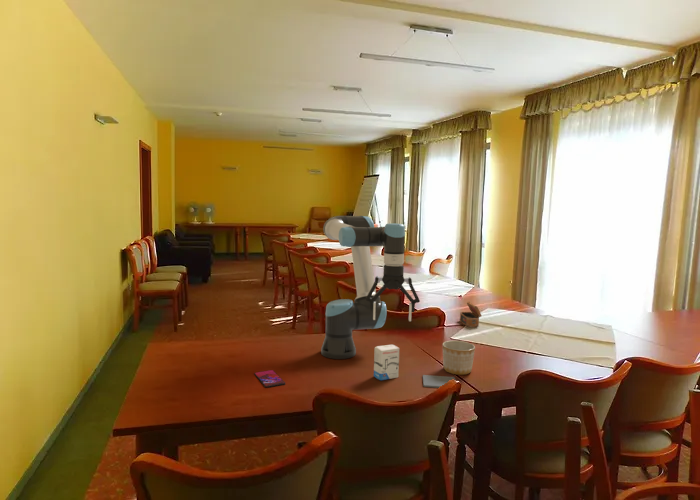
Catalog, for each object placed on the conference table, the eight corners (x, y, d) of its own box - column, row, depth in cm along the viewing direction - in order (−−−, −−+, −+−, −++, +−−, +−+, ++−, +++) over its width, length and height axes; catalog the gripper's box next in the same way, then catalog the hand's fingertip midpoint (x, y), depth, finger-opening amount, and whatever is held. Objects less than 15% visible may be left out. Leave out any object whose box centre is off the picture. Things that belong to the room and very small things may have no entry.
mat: (423, 386, 169) (423, 385, 169) (422, 376, 179) (422, 374, 179) (457, 389, 167) (457, 387, 167) (454, 378, 177) (454, 377, 177)
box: (437, 318, 269) (437, 298, 268) (483, 317, 273) (484, 298, 271) (452, 331, 242) (453, 309, 241) (504, 331, 245) (505, 309, 244)
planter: (439, 364, 192) (440, 339, 191) (469, 365, 192) (470, 340, 191) (444, 376, 180) (445, 349, 179) (477, 377, 179) (478, 350, 178)
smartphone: (273, 369, 181) (286, 383, 168) (273, 371, 181) (286, 385, 168) (253, 372, 178) (265, 386, 165) (253, 375, 178) (265, 389, 165)
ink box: (379, 381, 173) (380, 350, 172) (373, 376, 178) (373, 346, 176) (399, 377, 177) (400, 347, 176) (392, 373, 182) (393, 343, 180)
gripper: (360, 265, 171) (358, 321, 174) (428, 267, 170) (425, 323, 172) (361, 262, 179) (359, 316, 181) (426, 264, 177) (424, 318, 180)
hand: (391, 319), depth 177 cm, fingers open, 13 cm apart
